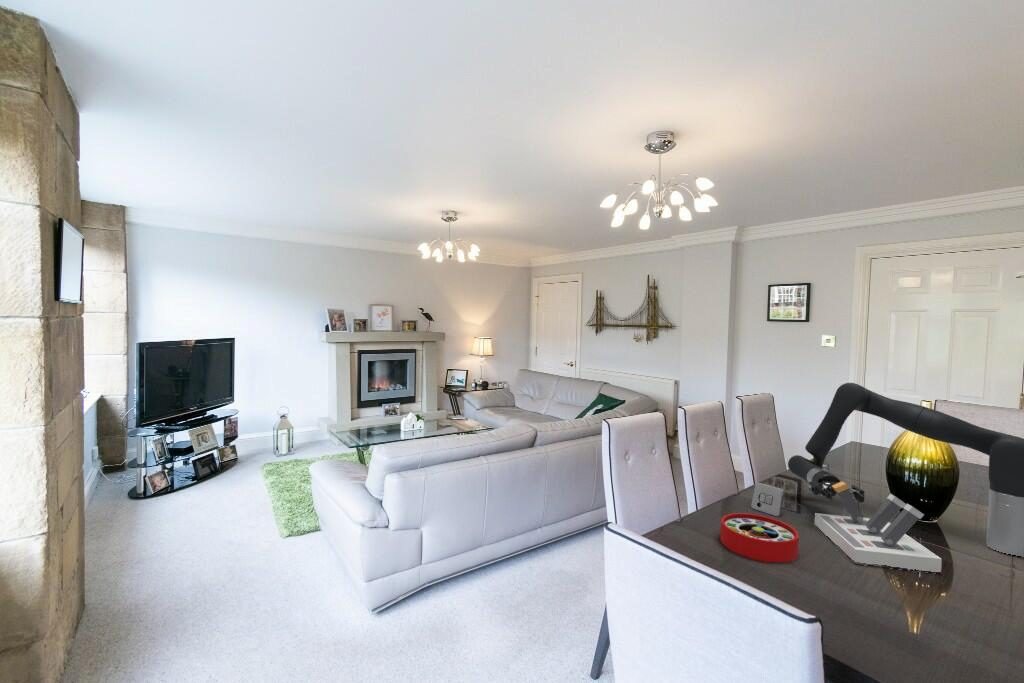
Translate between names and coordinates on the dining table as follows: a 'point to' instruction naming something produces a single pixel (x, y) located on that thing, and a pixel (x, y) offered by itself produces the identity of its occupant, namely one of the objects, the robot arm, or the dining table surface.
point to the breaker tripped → (848, 501)
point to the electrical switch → (767, 499)
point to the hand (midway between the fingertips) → (846, 498)
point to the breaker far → (901, 525)
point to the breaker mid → (884, 514)
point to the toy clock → (759, 537)
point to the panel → (875, 544)
